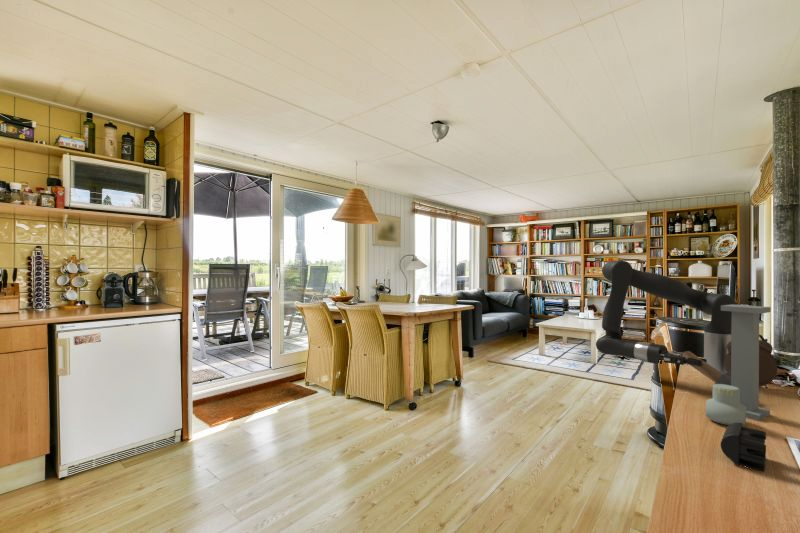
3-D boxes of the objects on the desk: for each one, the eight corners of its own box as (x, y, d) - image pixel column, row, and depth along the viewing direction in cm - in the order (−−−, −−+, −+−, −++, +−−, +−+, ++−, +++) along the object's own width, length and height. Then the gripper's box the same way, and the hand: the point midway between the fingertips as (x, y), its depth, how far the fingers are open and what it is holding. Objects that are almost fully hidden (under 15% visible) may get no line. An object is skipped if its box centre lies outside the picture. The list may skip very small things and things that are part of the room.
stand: (731, 405, 122) (732, 304, 122) (769, 414, 114) (770, 307, 114) (719, 410, 117) (720, 305, 117) (758, 420, 109) (759, 308, 110)
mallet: (685, 356, 141) (693, 347, 139) (734, 390, 129) (743, 380, 127) (677, 358, 138) (685, 348, 136) (727, 392, 126) (736, 382, 124)
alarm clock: (762, 385, 145) (762, 331, 145) (779, 391, 137) (779, 335, 137) (720, 383, 146) (720, 330, 146) (735, 389, 139) (735, 333, 139)
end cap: (725, 447, 93) (725, 419, 93) (765, 457, 88) (766, 428, 88) (720, 461, 86) (720, 431, 86) (764, 473, 81) (764, 441, 81)
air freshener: (744, 432, 101) (744, 394, 101) (704, 423, 107) (704, 387, 107) (746, 421, 109) (746, 386, 109) (709, 413, 115) (709, 379, 115)
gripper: (641, 344, 145) (695, 354, 130) (659, 341, 152) (712, 350, 138) (640, 364, 145) (694, 376, 130) (659, 360, 152) (712, 371, 138)
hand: (703, 362), depth 134 cm, fingers closed on mallet, 3 cm apart
